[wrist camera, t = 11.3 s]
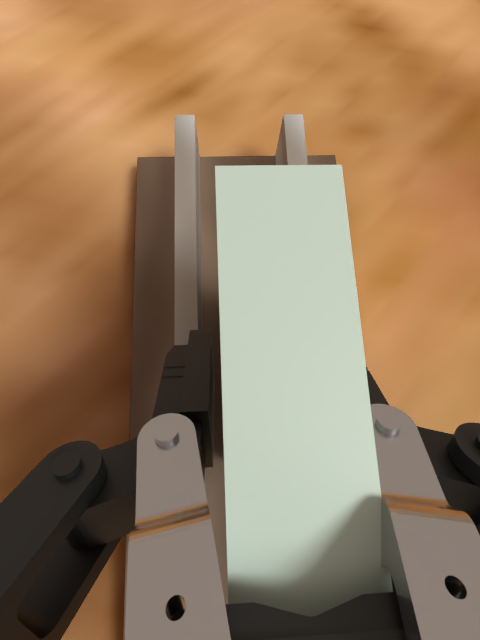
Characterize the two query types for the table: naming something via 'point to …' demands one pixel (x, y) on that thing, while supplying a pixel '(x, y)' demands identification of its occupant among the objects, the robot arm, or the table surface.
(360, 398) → the door panel
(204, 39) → the table surface
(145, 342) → the board
